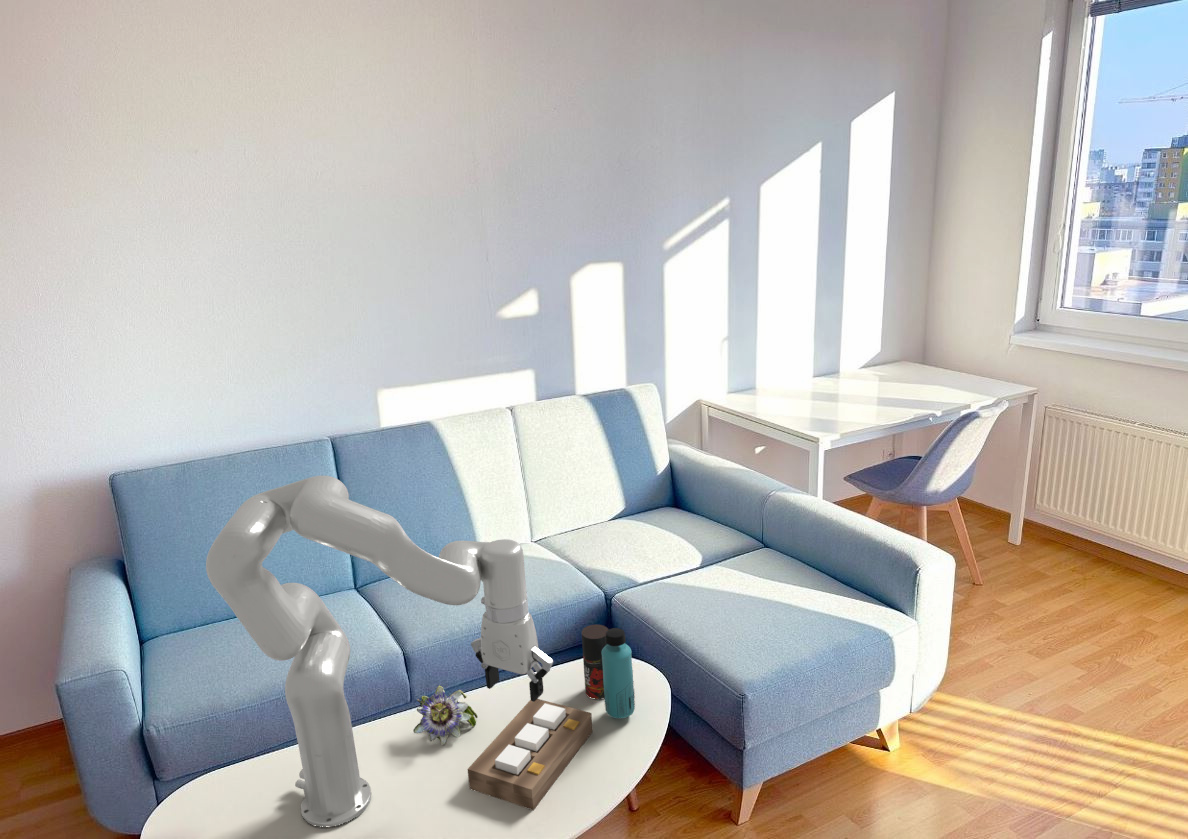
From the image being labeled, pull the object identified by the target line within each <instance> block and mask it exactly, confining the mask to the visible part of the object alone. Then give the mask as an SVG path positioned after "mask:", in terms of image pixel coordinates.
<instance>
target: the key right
mask: <svg viewBox="0 0 1188 839" xmlns="http://www.w3.org/2000/svg"><path fill="white" fill-rule="evenodd" d="M565 717H566V712H565V708H561V707H557V706H553V705H549V704H546V703H545V704H544V705H543V706H542V707H541V708H540V709H539V710H538V712H537V713H536V714H535V715H534V716H533V722H534V725H538V726H541V727H545V728H548V729H552V730H555V729H556V728H557V726H558V725H559V724H560V723H561V722H562V720H563V719H564V718H565Z"/></svg>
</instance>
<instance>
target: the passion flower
mask: <svg viewBox="0 0 1188 839" xmlns="http://www.w3.org/2000/svg"><path fill="white" fill-rule="evenodd" d="M445 691H446V690H444V687H443V686H441V685H440V684H439V685H438V686H437V687H436V689H435V692H434V693H433V694H432V695H430V697H429V696H427V695H422V696H421V699H419V698H417V699H416V702H418V703H419V704H420V706H419V707H417V708H416V711H417V712H418V713H419V714H421V715H422V717H421V719H420V722H419V723H417V725H416V726H415V727H414V728H413V733H414V734H420V733H422V732H424V731H425V732H427V733H428V738H429V741H430V742H433V741H435V740H436V739H437V740H439V743H440V745H442V746H443V745H446V743H447V739H448V735H452V736H453V737H455V738H460V736H461V728H460V727H461V726H460V724H461V723H462V722H467V723H468V724H469V725H470V726H471V727H472V728H475V726H476V725H477V720H476V719H478V714H477V713H476V712H475V711H474V710H473V708H472V707H471V706H470V705H469V703H468V702H465V701H459V699H460V697H461V696H463V698H464V700H465V699H467V697H468V696H467V695H466V694H465V693H464V691H462V689H458V690H456V691H454V692H452V693H451V694H450V695H446V692H445Z"/></svg>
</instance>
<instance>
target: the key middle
mask: <svg viewBox="0 0 1188 839" xmlns="http://www.w3.org/2000/svg"><path fill="white" fill-rule="evenodd" d="M548 737H549V731H548V729H547V728H543V727H539V726H536V725H532V724H529V723H527V724H526V725H525V726H524V728H523V729H522V730H521V731H520V732H519V733H518V734H517V736H516V737H515V745H516V746H519V747H522V748H526V749H529V750H533V751H536V752H537V751H538V750H539V748H540V747H541V746H542V745H543V743H544V742H545V741H546V740H547V739H548Z"/></svg>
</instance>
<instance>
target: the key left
mask: <svg viewBox="0 0 1188 839" xmlns="http://www.w3.org/2000/svg"><path fill="white" fill-rule="evenodd" d="M530 759H531V755H530V751H529V750H526V749H522V748H519V747H515V746H512V745H508V746H507V747H506V748H505V749H504V750H503V752H502V753H501V754H500V755H499V756H498V757H497V758H496V760H495V765H496V768H497V769H500V770H503V771H507V772H510V773H513V774H516V775H518V774H519V773H520V772H521V770H522V769H523V768H524V767H525V765H526V764H527V763H528V762H529V761H530Z"/></svg>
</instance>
